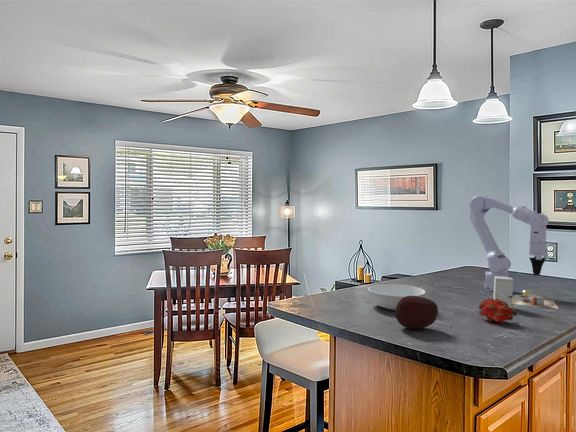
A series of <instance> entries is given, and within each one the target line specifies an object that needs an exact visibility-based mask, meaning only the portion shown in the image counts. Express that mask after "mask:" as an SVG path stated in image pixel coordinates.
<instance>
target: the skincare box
mask: <svg viewBox="0 0 576 432" xmlns="http://www.w3.org/2000/svg"><path fill="white" fill-rule="evenodd" d="M513 293H514V279H513V278H512V277H510V276H508V277H497V276H495V277H494V292H493V294H492V295H493V297H492V298H493V299H494V300H495V299H499V300H502V302H505V303H507V305H508V307H510V308H512V309H513V304H512V296H513V295H514V294H513Z"/></svg>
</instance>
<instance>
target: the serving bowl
mask: <svg viewBox="0 0 576 432" xmlns="http://www.w3.org/2000/svg"><path fill="white" fill-rule="evenodd" d="M367 293H368V297H369V299H370V301H371V302H373V303H374V304H375V305H376V306H378V307H381V308H384V309H387V310H389V311H396V306H397V304H398V302H399V301H400V300H401V299H402V298H403V297H406V296H418V297H423V298H426V293H427V292H426V290H425V289H424V288H420V287H417V286H412V285H406V284H393V283H392V284H391V283H387V284H386V283H385V284H374V285H371V286H368V288H367Z"/></svg>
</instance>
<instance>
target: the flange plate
mask: <svg viewBox="0 0 576 432" xmlns="http://www.w3.org/2000/svg"><path fill="white" fill-rule="evenodd" d="M531 297H535V305H537V306H544V299H545V297H543V296H540V295H537V294H535V293H531V294H528V298H523V297H522V294H513V298H515V299H517V300H520V301H522V302H530V303H531Z"/></svg>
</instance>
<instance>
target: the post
mask: <svg viewBox="0 0 576 432" xmlns="http://www.w3.org/2000/svg"><path fill="white" fill-rule="evenodd" d="M528 294H532V290H530V289H522V294H521V295H522V297H523V298H528Z"/></svg>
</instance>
